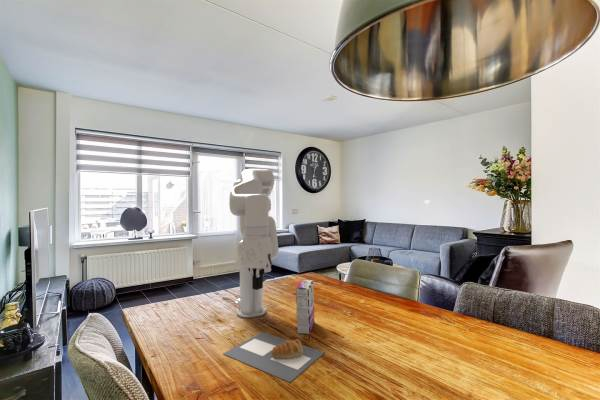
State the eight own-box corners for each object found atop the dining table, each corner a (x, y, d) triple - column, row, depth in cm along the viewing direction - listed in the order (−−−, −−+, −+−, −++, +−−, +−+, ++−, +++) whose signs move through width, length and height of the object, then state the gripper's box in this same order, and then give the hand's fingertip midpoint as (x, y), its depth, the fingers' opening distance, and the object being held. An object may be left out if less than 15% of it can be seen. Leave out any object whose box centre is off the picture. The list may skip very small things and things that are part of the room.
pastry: (274, 363, 84) (274, 350, 84) (269, 352, 90) (268, 340, 90) (305, 356, 87) (304, 344, 87) (297, 346, 93) (297, 334, 94)
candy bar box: (302, 321, 114) (301, 279, 115) (314, 322, 113) (314, 280, 114) (296, 333, 103) (295, 287, 104) (310, 334, 102) (309, 288, 103)
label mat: (223, 354, 90) (223, 353, 90) (262, 332, 105) (262, 331, 105) (290, 382, 75) (290, 381, 75) (324, 352, 90) (324, 351, 90)
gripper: (232, 231, 95) (233, 287, 95) (266, 234, 87) (267, 295, 87) (248, 230, 101) (249, 282, 101) (282, 231, 93) (283, 289, 93)
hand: (257, 288), depth 94 cm, fingers closed
